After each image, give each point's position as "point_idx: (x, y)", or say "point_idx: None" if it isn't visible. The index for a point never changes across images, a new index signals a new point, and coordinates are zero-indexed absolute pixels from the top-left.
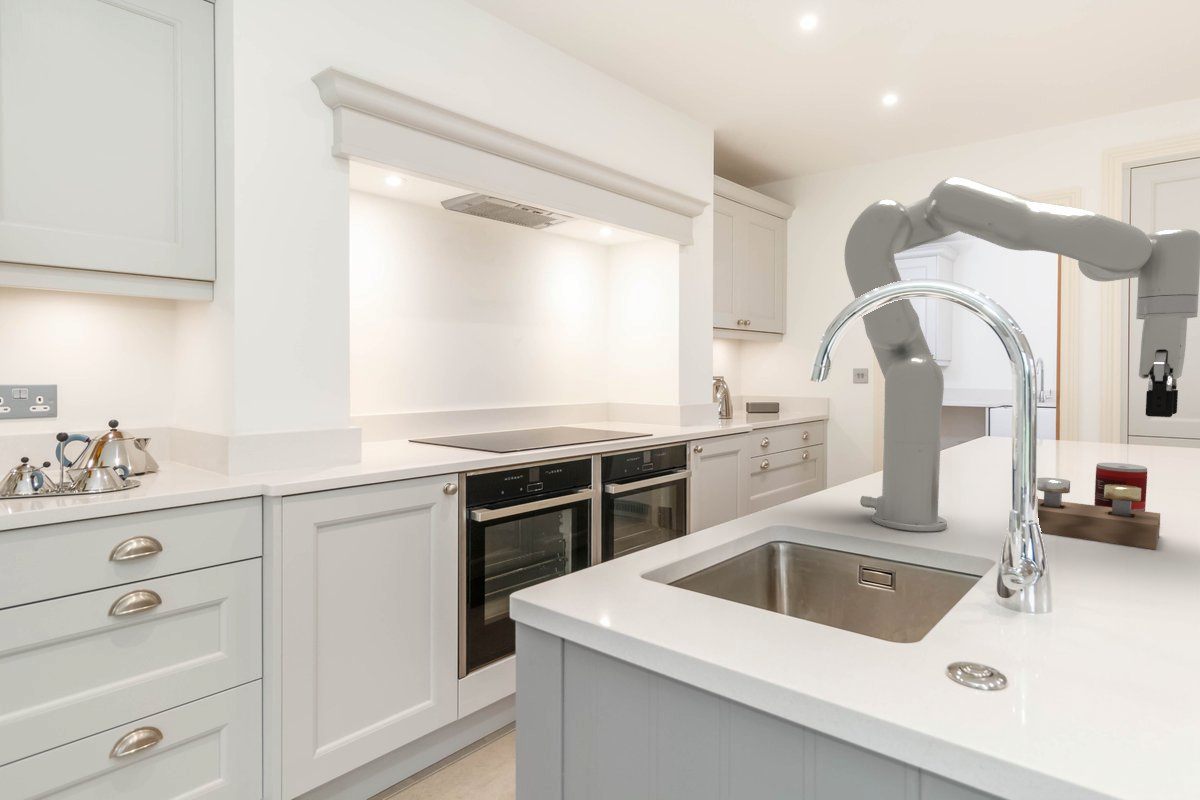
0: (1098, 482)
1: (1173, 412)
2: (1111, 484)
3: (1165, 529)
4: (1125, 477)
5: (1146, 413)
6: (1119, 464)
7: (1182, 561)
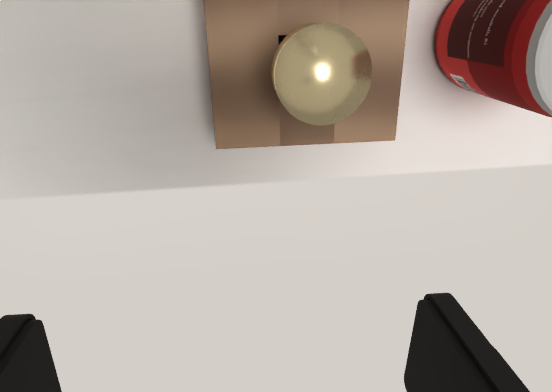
0: None
1: (407, 379)
2: (358, 40)
3: (464, 129)
4: (512, 65)
5: (3, 324)
6: None
7: (147, 179)
